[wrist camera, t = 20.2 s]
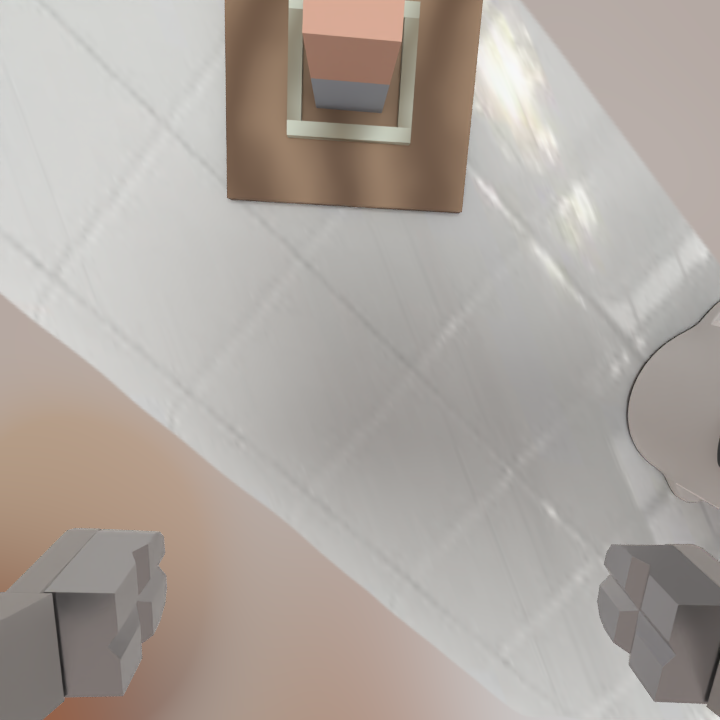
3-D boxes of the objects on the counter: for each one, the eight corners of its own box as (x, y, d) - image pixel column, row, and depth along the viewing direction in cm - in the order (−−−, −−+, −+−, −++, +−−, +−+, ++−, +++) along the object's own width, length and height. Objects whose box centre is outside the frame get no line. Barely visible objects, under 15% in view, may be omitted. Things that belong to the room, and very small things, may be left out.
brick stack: (386, 39, 33) (410, -77, 21) (381, 113, 34) (401, 41, 22) (319, 33, 33) (305, -87, 21) (316, 107, 34) (302, 32, 22)
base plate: (483, -52, 33) (492, -71, 31) (458, 212, 37) (464, 211, 35) (228, -74, 32) (220, -95, 30) (230, 199, 36) (224, 196, 34)
